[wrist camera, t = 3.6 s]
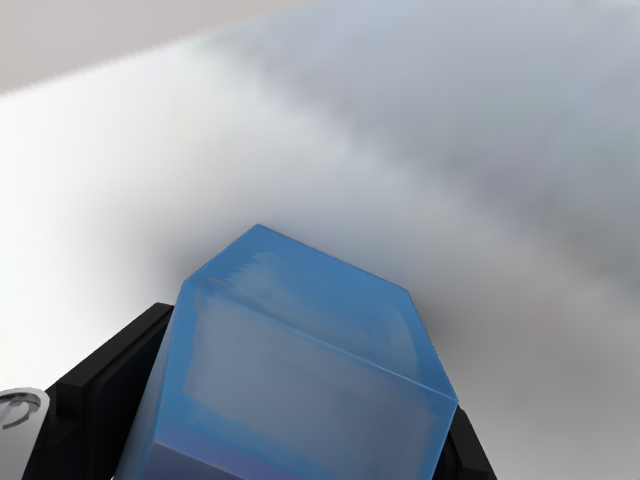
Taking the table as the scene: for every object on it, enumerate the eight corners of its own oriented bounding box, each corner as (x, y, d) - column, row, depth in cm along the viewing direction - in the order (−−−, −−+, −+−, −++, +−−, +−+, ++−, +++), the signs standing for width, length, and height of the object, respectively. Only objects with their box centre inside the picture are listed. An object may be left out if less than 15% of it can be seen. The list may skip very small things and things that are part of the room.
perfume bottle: (339, 413, 15) (323, 1375, 3) (204, 356, 15) (-357, 1163, 3) (406, 290, 13) (860, 1254, 2) (257, 223, 13) (-463, 794, 1)
